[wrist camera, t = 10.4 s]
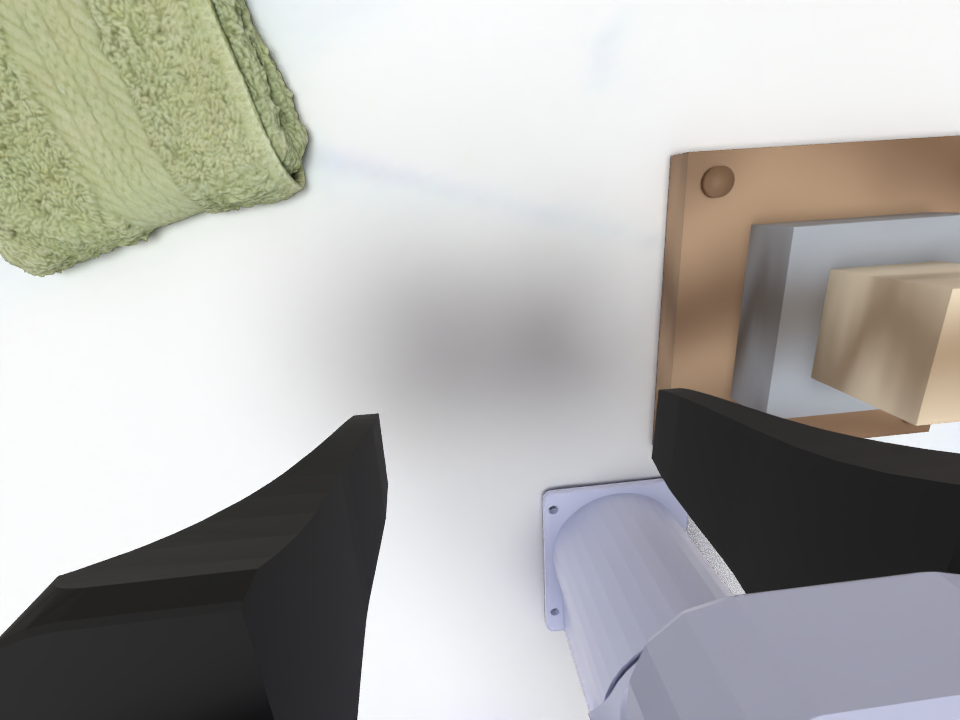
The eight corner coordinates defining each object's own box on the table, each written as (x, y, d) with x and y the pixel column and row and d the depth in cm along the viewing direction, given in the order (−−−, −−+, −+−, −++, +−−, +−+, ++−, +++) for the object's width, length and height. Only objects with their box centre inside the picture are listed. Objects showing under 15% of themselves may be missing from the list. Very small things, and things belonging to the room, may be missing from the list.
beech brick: (911, 368, 20) (1042, 413, 15) (810, 377, 19) (915, 426, 15) (938, 261, 18) (1091, 277, 14) (830, 269, 18) (952, 288, 14)
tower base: (901, 418, 25) (982, 456, 21) (652, 444, 24) (692, 487, 21) (971, 137, 21) (1091, 121, 17) (670, 156, 20) (725, 144, 16)
